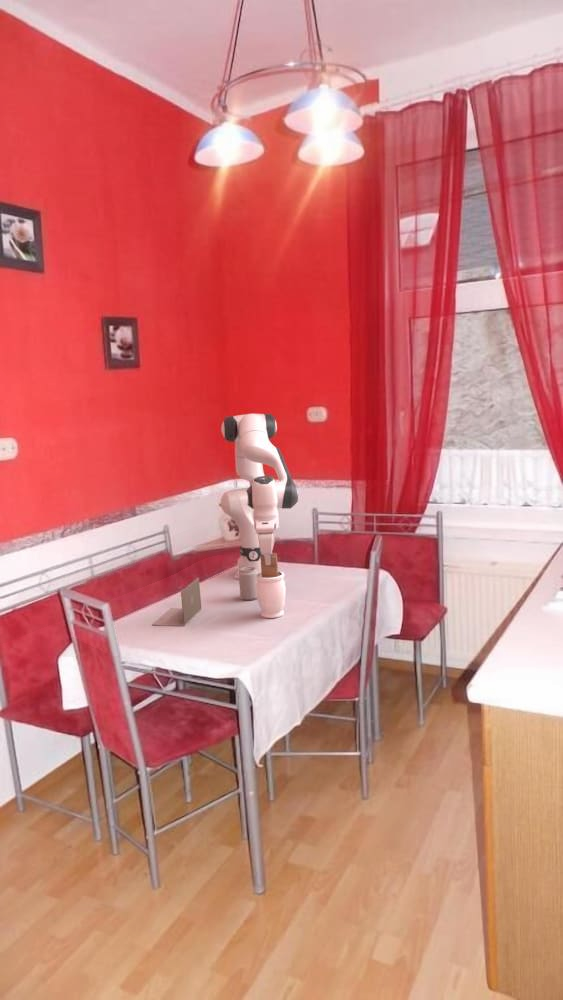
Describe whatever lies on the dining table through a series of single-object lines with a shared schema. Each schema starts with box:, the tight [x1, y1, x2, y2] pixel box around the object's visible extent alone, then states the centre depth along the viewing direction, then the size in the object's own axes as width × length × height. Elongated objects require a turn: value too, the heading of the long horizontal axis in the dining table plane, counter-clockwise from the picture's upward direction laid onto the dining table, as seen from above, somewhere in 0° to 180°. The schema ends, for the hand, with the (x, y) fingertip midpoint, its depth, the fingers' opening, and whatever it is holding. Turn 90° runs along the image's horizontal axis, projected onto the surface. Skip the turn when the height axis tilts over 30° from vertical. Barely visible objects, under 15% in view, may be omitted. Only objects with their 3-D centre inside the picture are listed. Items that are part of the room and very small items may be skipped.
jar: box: [256, 570, 287, 619], centre depth 256 cm, size 11×10×15 cm
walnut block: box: [260, 552, 279, 577], centre depth 254 cm, size 6×6×7 cm
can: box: [238, 567, 258, 601], centre depth 277 cm, size 8×8×12 cm
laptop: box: [151, 576, 202, 627], centre depth 259 cm, size 18×12×13 cm
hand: (269, 561), depth 254 cm, fingers open, 8 cm apart
